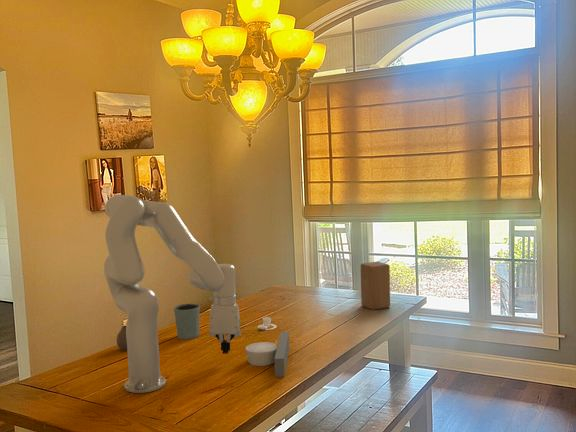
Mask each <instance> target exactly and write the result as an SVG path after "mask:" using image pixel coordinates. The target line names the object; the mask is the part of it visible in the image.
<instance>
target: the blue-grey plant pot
mask: <svg viewBox="0 0 576 432" xmlns="http://www.w3.org/2000/svg"><path fill="white" fill-rule="evenodd" d="M200 309H201V308H200V305H199V304H198V303H197V304H196V303H184V304H183V303H181V304H178V305H176V306H174V307H173V312H174V317H175V327H176V334H177V336H176V337H177V338H178V339H180V340H192V339H195V338H198V337H199V335H200Z"/></svg>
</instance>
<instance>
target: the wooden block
mask: <svg viewBox="0 0 576 432" xmlns="http://www.w3.org/2000/svg"><path fill="white" fill-rule="evenodd" d="M390 270H391V269H390V264H388V263H385V262H380V261H370V262H363V263H360V296H361V297H360V300H361V301H360V302H361V306H363V307H364V308H367V309H369V310H372V311H374V310H380V309H381V310H382V309H387V308H390V306H391V282H390V281H391V280H390V279H391V276H390V275H391V274H390V272H391V271H390Z"/></svg>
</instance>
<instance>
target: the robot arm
mask: <svg viewBox="0 0 576 432" xmlns="http://www.w3.org/2000/svg"><path fill="white" fill-rule="evenodd" d="M104 210H105V214H106V216H107V217H108V218H109V220H108V223H107V225H106V228H105V234H104V235H105V237H104V238H105V243H106V247H107V251H108V256H107V257H106V258H105V260H104V262H103V263H104V265H103V272H104V276H105V277H104V278H105V280H106V283H107V284H108V285H107V286H108V289H109V291H110V295H111V297H112V300H113V302H114V304H115V305H116V307H117V308H118V309H119V310H121V311H123V312H124V313H126V314H127V317H126V325H125V326H126V339H127V364H128V378H129V379H128V380H126V382H124V390H125V391H127V392H128V393H129V392H130V393H135V394H144V393H151V392H154V391H157V390H160V389H162V388H164V386H165V385H166V383H167V382H166V379H167V378H165V377H164V376H163V375H161V365H160V351H159V350H160V348H159V333H158V332H159V331H158V316H159V305H160V304H159V298H158V296H157V294H156V293H155V292H154V291H153V290H152V289H150V288H149V287H147V286H144V285H142V284H140V283H141V282H142V281H143V279H144V277H145V273H146V271H145V265H144V261H143V260H142V256H141V253H140V251H139V247H138V244H137V241H136V230H137V227H138V226H141V227H148V228H149V227H150V228H153V229H154V230H155V231H156V232H157V234H158V235H159V237H160V238H161V240H162V241H163V243H164V244H165V245H166V247H167V248H168V250H169V251H170V252H171V254H172V255H173V256H175V257H176V258H178V260H179V259H180V261H182V262H184V263H185V264H186V265H188V266H189V267H190V268H191V269H190V271H189V273H188V280H189V282H190V284H191V285H192V286H193V287H195V288H198V289H200V290H206V291H208V292H212V293H213V295H212V296H209V298H208V299H209V301H210V302H212V304H211V306H210V311H209V336H210V337H213V338H216V339H217V340H218V341H219V342H220V351H221V352H222V354H223V355H225V354H226V355H228V354H229V352H230V351H231V341H232V340H233V339H234V338H237V337H241V335H242V332H241V316H240V308H239V304H238V302H237V300H236V298H237V297H236V296H237V295H236V293H237V292H236V291H237V289H236V268H235V266H234V265H233V264H231V263H217V261H216V259H215V258H214V257H213V256H212V255H211V254H210V253H209V252H208V250H207V249H205V247H204V246H203V245H202V244H201V243H200V242H199V241H197V240H196V238H195V237H194V236H193V234H192V233H191V232H190V230H189V228H188V227H187V226H186V224H185V223H184V222H183V220H182V219H181V217H180V215H179V214H178V212H177V211H176V209H175V208H174V207H173V206H172V205H171V204H169V203H167V202H163V201H153V200H145V199H141V198H139V197H137V196H134V195H127V194H116V195H113V196H111V197H110V198H108V200H107V201H106V203H105V207H104ZM225 335H226V338H225Z"/></svg>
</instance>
